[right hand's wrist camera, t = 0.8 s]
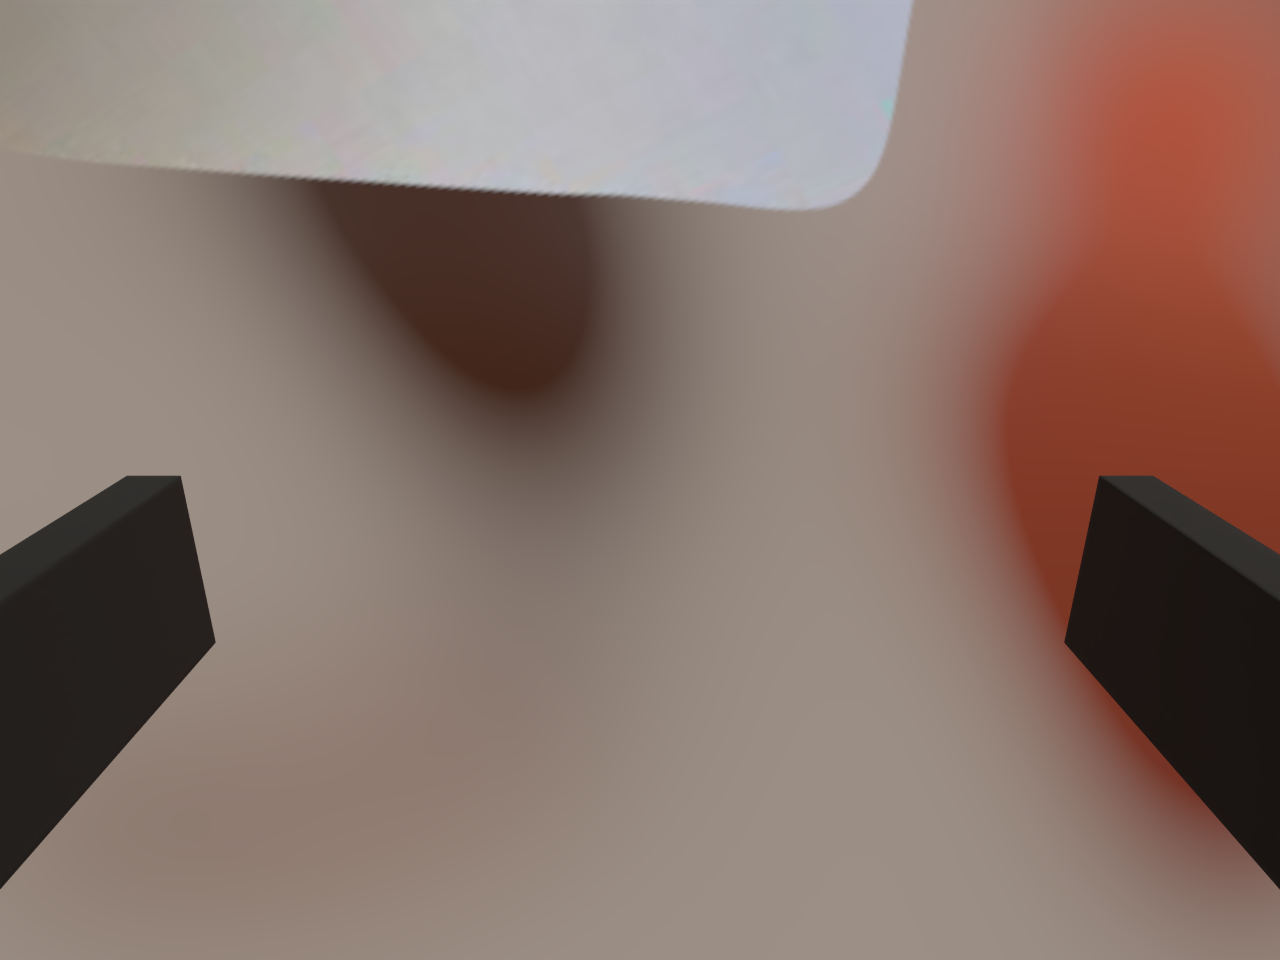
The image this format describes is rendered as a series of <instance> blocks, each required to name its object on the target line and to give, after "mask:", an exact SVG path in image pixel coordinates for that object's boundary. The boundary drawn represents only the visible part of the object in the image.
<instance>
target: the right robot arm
mask: <svg viewBox="0 0 1280 960" xmlns="http://www.w3.org/2000/svg"><path fill="white" fill-rule="evenodd" d="M214 644H215V637H214V632H213V628H212V623H211V618H210V613H209V609H208V604H207V599H206V594H205V590H204V585H203V580H202V575H201V571H200V566H199V561H198V556H197V551H196V547H195V542H194V537H193V532H192V528H191V523H190V518H189V513H188V509H187V504H186V499H185V494H184V489H183V485H182V480H181V476H126V477H124V478H123V479H121V480H120V481H118V482H116V483H115V484H113V485H111V486H110V487H108V488H107V489H105V490H104V491H102V492H100V493H99V494H97V495H95V496H94V497H92V498H91V499H89V500H87V501H86V502H84V503H83V504H81V505H79V506H78V507H76V508H75V509H73V510H71V511H70V512H68V513H66V514H65V515H63V516H62V517H60V518H59V519H57V520H55V521H54V522H52V523H50V524H49V525H47V526H46V527H44V528H43V529H41V530H39V531H38V532H36V533H34V534H33V535H31V536H30V537H28V538H26V539H25V540H23V541H22V542H20V543H18V544H17V545H15V546H14V547H12V548H10V549H9V550H7V551H6V552H4V553H2V554H1V555H0V889H1V888H2V887H3V886H4V884H5V883H6V882H7V881H8V880H9V879H10V877H11V876H12V875H13V874H14V873H15V872H16V871H17V869H18V868H19V867H20V866H21V865H22V864H23V862H24V861H25V860H26V859H27V858H28V857H29V856H30V855H31V853H32V852H33V851H34V850H35V849H36V848H37V847H38V845H39V844H40V843H41V842H42V841H43V840H44V838H45V837H46V836H47V835H48V834H49V833H50V832H51V830H52V829H53V828H54V827H55V826H56V825H57V824H58V822H59V821H60V820H61V819H62V818H63V817H64V816H65V814H66V813H67V812H68V811H69V810H70V809H71V808H72V806H73V805H74V804H75V803H76V802H77V801H78V800H79V798H80V797H81V796H82V795H83V794H84V793H85V792H86V790H87V789H88V788H89V787H90V786H91V785H92V784H93V782H94V781H95V780H96V779H97V778H98V777H99V776H100V774H101V773H102V772H103V771H104V770H105V769H106V768H107V766H108V765H109V764H110V763H111V762H112V761H113V759H114V758H115V757H116V756H117V755H118V754H119V753H120V751H121V750H122V749H123V748H124V747H125V746H126V745H127V743H128V742H129V741H130V740H131V739H132V738H133V737H134V735H135V734H136V733H137V732H138V731H139V730H140V729H141V727H142V726H143V725H144V724H145V723H146V722H147V720H148V719H149V718H150V717H151V716H152V715H153V714H154V713H155V711H156V710H157V709H158V708H159V707H160V706H161V705H162V703H163V702H164V701H165V700H166V699H167V698H168V697H169V695H170V694H171V693H172V692H173V691H174V690H175V688H176V687H177V686H178V685H179V684H180V683H181V682H182V680H183V679H184V678H185V677H186V676H187V675H188V674H189V672H190V671H191V670H192V669H193V668H194V667H195V665H196V664H197V663H198V662H199V661H200V660H201V659H202V657H203V656H204V655H205V654H206V653H207V652H208V651H209V649H210V648H211V647H212V646H213V645H214ZM1065 644H1066V645H1067V646H1068V647H1069V648H1070V650H1071V651H1072V652H1073V653H1074V654H1075V655H1076V656H1077V658H1078V659H1079V660H1080V661H1081V662H1082V663H1083V664H1084V666H1085V667H1086V668H1087V669H1088V670H1089V671H1090V672H1091V674H1092V675H1093V676H1094V677H1095V678H1096V679H1097V680H1098V682H1099V683H1100V684H1101V685H1102V686H1103V687H1104V688H1105V690H1106V691H1107V692H1108V693H1109V694H1110V695H1111V697H1112V698H1113V699H1114V700H1115V701H1116V702H1117V703H1118V704H1119V706H1120V707H1121V708H1122V709H1123V710H1124V711H1125V713H1126V714H1127V715H1128V716H1129V717H1130V718H1131V719H1132V721H1133V722H1134V723H1135V724H1136V725H1137V726H1138V727H1139V729H1140V730H1141V731H1142V732H1143V733H1144V734H1145V735H1146V737H1147V738H1148V739H1149V740H1150V741H1151V742H1152V743H1153V745H1154V746H1155V747H1156V748H1157V749H1158V750H1159V751H1160V753H1161V754H1162V755H1163V756H1164V757H1165V758H1166V760H1167V761H1168V762H1169V763H1170V764H1171V765H1172V766H1173V767H1174V769H1175V770H1176V771H1177V772H1178V773H1179V774H1180V776H1181V777H1182V778H1183V779H1184V780H1185V781H1186V782H1187V783H1188V785H1189V786H1190V787H1191V788H1192V789H1193V790H1194V792H1195V793H1196V794H1197V795H1198V796H1199V797H1200V798H1201V800H1202V801H1203V802H1204V803H1205V804H1206V805H1207V806H1208V808H1209V809H1210V810H1211V811H1212V812H1213V813H1214V814H1215V816H1216V817H1217V818H1218V819H1219V820H1220V821H1221V823H1222V824H1223V825H1224V826H1225V827H1226V828H1227V829H1228V830H1229V832H1230V833H1231V834H1232V835H1233V836H1234V837H1235V839H1236V840H1237V841H1238V842H1239V843H1240V844H1241V845H1242V847H1243V848H1244V849H1245V850H1246V851H1247V852H1248V853H1249V855H1250V856H1251V857H1252V858H1253V859H1254V860H1255V861H1256V863H1257V864H1258V865H1259V866H1260V867H1261V868H1262V869H1263V871H1264V872H1265V873H1266V874H1267V875H1268V876H1269V877H1270V879H1271V880H1272V881H1273V882H1274V883H1275V884H1276V886H1277V887H1278V888H1279V889H1280V555H1279V554H1278V553H1276V552H1275V551H1273V550H1271V549H1270V548H1268V547H1267V546H1265V545H1263V544H1262V543H1260V542H1258V541H1257V540H1255V539H1254V538H1252V537H1250V536H1249V535H1247V534H1246V533H1244V532H1242V531H1241V530H1239V529H1238V528H1236V527H1234V526H1233V525H1231V524H1230V523H1228V522H1226V521H1225V520H1223V519H1222V518H1220V517H1218V516H1217V515H1215V514H1214V513H1212V512H1210V511H1209V510H1207V509H1205V508H1204V507H1202V506H1201V505H1199V504H1197V503H1196V502H1194V501H1193V500H1191V499H1189V498H1188V497H1186V496H1185V495H1183V494H1181V493H1180V492H1178V491H1177V490H1175V489H1173V488H1172V487H1170V486H1169V485H1167V484H1165V483H1164V482H1162V481H1160V480H1159V479H1157V478H1156V477H1154V476H1099V480H1098V485H1097V490H1096V494H1095V499H1094V504H1093V508H1092V513H1091V518H1090V523H1089V528H1088V532H1087V537H1086V542H1085V547H1084V551H1083V556H1082V561H1081V566H1080V570H1079V575H1078V580H1077V585H1076V590H1075V594H1074V599H1073V604H1072V608H1071V613H1070V618H1069V623H1068V628H1067V632H1066V637H1065Z"/></svg>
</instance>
